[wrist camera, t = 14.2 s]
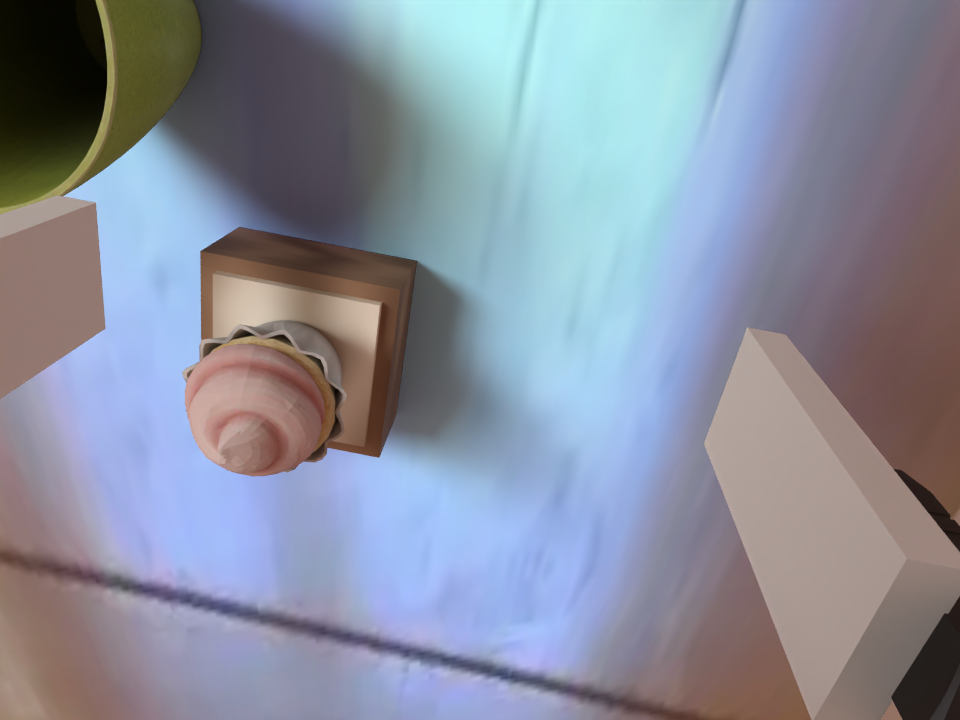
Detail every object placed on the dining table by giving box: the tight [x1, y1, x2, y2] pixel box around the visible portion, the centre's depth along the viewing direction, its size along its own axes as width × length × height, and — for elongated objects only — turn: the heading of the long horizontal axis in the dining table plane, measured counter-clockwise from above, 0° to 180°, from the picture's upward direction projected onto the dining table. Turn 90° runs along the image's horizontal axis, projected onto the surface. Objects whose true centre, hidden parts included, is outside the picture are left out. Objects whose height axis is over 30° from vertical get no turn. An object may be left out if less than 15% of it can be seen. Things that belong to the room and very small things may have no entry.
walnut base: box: [200, 227, 417, 457], centre depth 45 cm, size 12×12×6 cm
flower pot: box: [0, 0, 202, 214], centre depth 34 cm, size 15×15×16 cm
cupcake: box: [182, 320, 347, 476], centre depth 38 cm, size 9×9×10 cm
